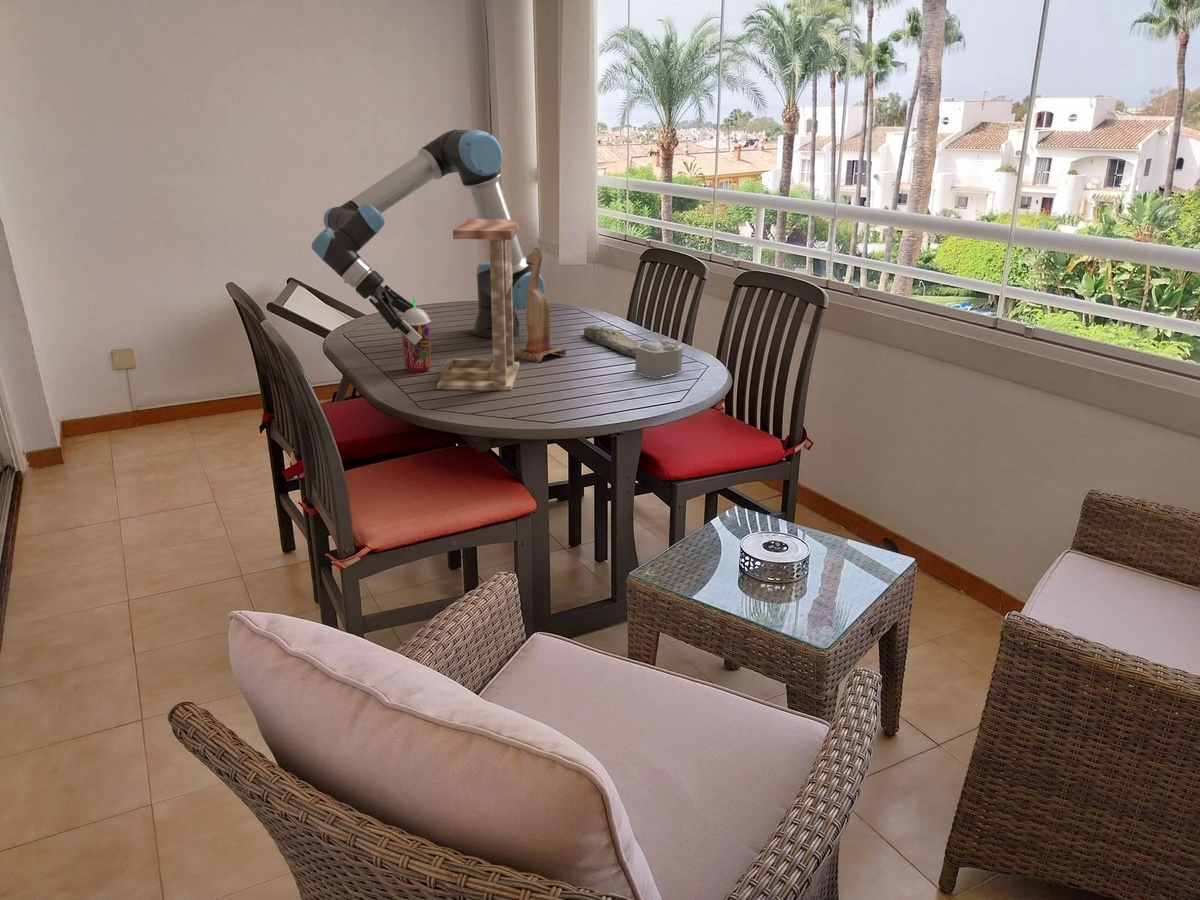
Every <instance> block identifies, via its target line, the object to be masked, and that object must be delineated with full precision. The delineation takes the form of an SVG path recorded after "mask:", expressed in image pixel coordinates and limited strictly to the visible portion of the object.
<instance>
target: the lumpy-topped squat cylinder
mask: <svg viewBox="0 0 1200 900" xmlns="http://www.w3.org/2000/svg"><path fill="white" fill-rule="evenodd" d="M641 344H642V345H638V346H637V347H636V358H635V372H634V373H636V372H637V373H636V374H638V373H641V374H644V375H646V376H650V377H662V376H666V375H670V374H675V373H678V372H679V371H681V372H682V369H683V368H682V367H683V365H682V364H683V363H682V362H683V344H681V343H678V342H676V341H675V340H671V339H668V338H665V339H662V340H657V339H655V338H650V339H648V340H647V341H646V342H644V343H641ZM641 374H640V375H641ZM644 375H643V376H644ZM646 376H645V377H646Z"/></svg>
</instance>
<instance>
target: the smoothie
mask: <svg viewBox="0 0 1200 900" xmlns="http://www.w3.org/2000/svg"><path fill="white" fill-rule="evenodd" d="M412 304H413V308H410V309H408V310H407V311H405V312H404V313H403V314H402V316H401V317H400V318H401V320H402V321H403V320H404V321H405V322H406V323H407V324H409V325H410V326H411V327H412V328H413V329H414V330H415V331H416V332H417V333H418V334H419V335H420V336H421V337H422V338H421V339H420V341H419V342H418V343H417V344H416V345H414V344H413V343H412V342H411V341H410V340H409V339H408V338H407V337H406V336H405V335H404V334H403V333H402V332H400V335H401V342H402V350H403V359H404V366H405V367H406V369H407V371H408V372H410V373H414V372H420V373H424V372H423V371H425V372H427V370H428V371H429V369H430V367H431V364H432V363H431V355H432V354H431V352H432V349H431V347H432V346H431V340H432V339H431V336H432V331H431V329H432V327H431V326H432V325H431V323H432V320H431V319H430V317H429V315H428V314H427V312H426V311H425V310H423V309H421V308H420V307H417V306H416V304H417V303H416V297H412Z"/></svg>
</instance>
